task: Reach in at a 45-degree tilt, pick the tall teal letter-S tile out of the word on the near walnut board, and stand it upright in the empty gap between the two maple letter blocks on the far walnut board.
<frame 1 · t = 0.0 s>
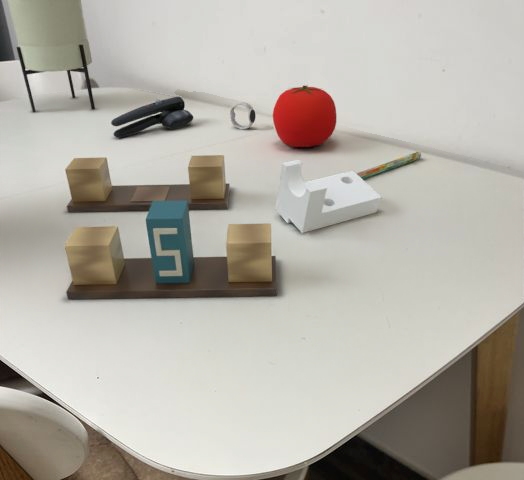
can opener: (152, 131, 119), on the table
bracket: (329, 217, 83), on the table
letter S tile: (175, 272, 68), point 1 cm above the table, touching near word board
pencil: (384, 171, 97), on the table
planter: (67, 106, 137), on the table
tomato: (303, 146, 109), on the table
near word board: (176, 280, 68), on the table
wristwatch: (243, 129, 119), on the table
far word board: (151, 200, 88), on the table
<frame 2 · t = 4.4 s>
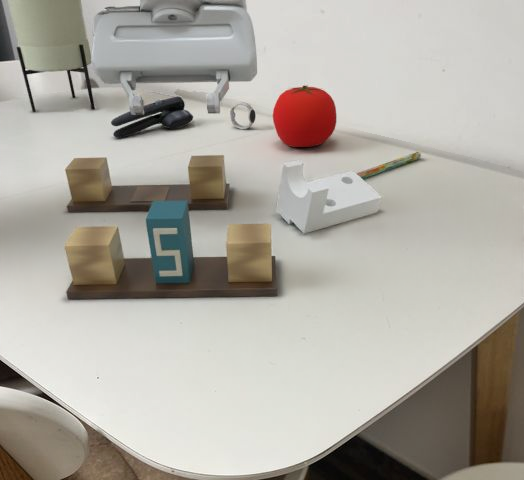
hand: (175, 112, 69), 16 cm above the table, tool tilted 45°, fingers open, 8 cm apart
nothing on the table moved.
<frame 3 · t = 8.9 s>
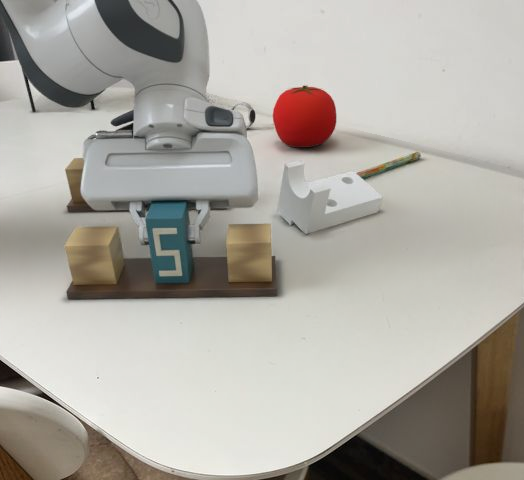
hand: (170, 243, 65), 5 cm above the table, tool tilted 45°, fingers closed on letter S tile, 4 cm apart
letter S tile: (175, 272, 68), point 1 cm above the table, touching gripper, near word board
everything else where it was.
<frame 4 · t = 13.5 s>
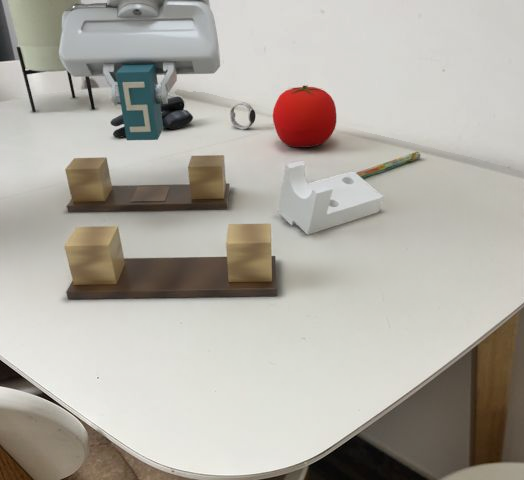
hand: (140, 101, 72), 16 cm above the table, tool tilted 45°, fingers closed on letter S tile, 4 cm apart
letter S tile: (145, 134, 75), point 12 cm above the table, touching gripper
everything else where it was.
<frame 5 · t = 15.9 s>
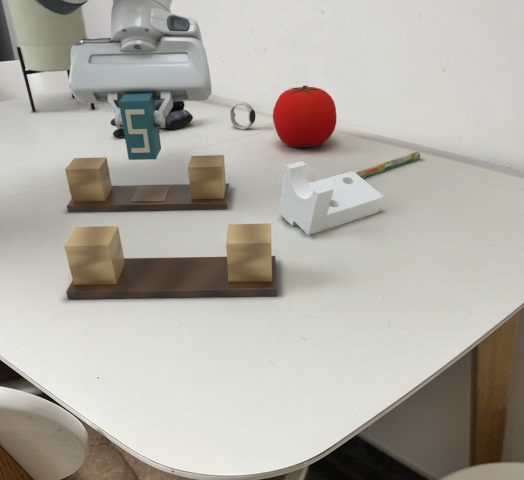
hand: (140, 126, 81), 11 cm above the table, tool tilted 45°, fingers closed on letter S tile, 4 cm apart
letter S tile: (145, 154, 84), point 7 cm above the table, touching gripper
everything else where it was.
when the fingers open (5 cm above the table, at t = 17.9 s): letter S tile stays where it is, resting on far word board.
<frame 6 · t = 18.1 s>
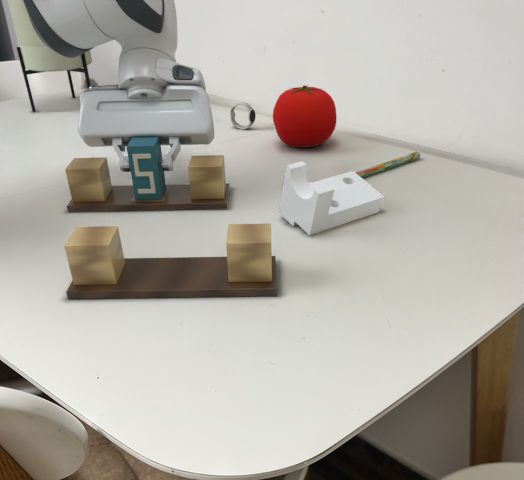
hand: (146, 169, 85), 5 cm above the table, tool tilted 45°, fingers open, 5 cm apart
letter S tile: (151, 193, 88), point 1 cm above the table, touching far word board
everything else where it was.
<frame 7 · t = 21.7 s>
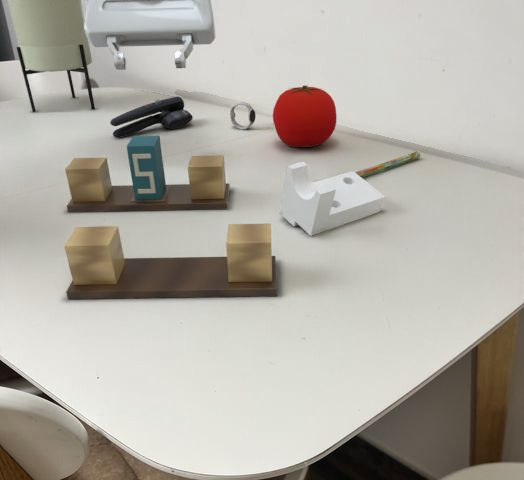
hand: (150, 66, 88), 17 cm above the table, tool tilted 45°, fingers open, 8 cm apart
nothing on the table moved.
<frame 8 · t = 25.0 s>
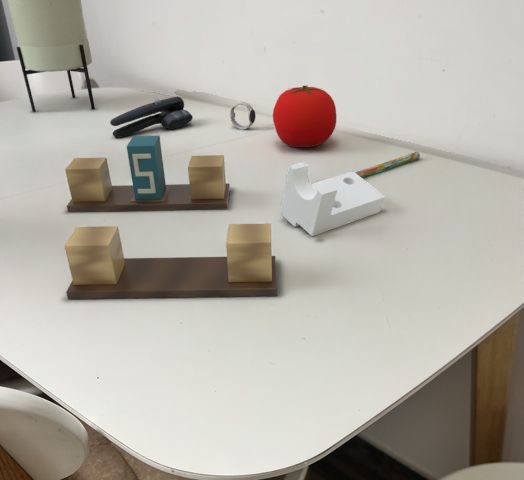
nothing on the table moved.
at the end: letter S tile 0.0 cm off-centre on the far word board, point 1.1 cm above the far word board's base; letter S tile tilted 0°; the gripper is holding nothing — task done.
